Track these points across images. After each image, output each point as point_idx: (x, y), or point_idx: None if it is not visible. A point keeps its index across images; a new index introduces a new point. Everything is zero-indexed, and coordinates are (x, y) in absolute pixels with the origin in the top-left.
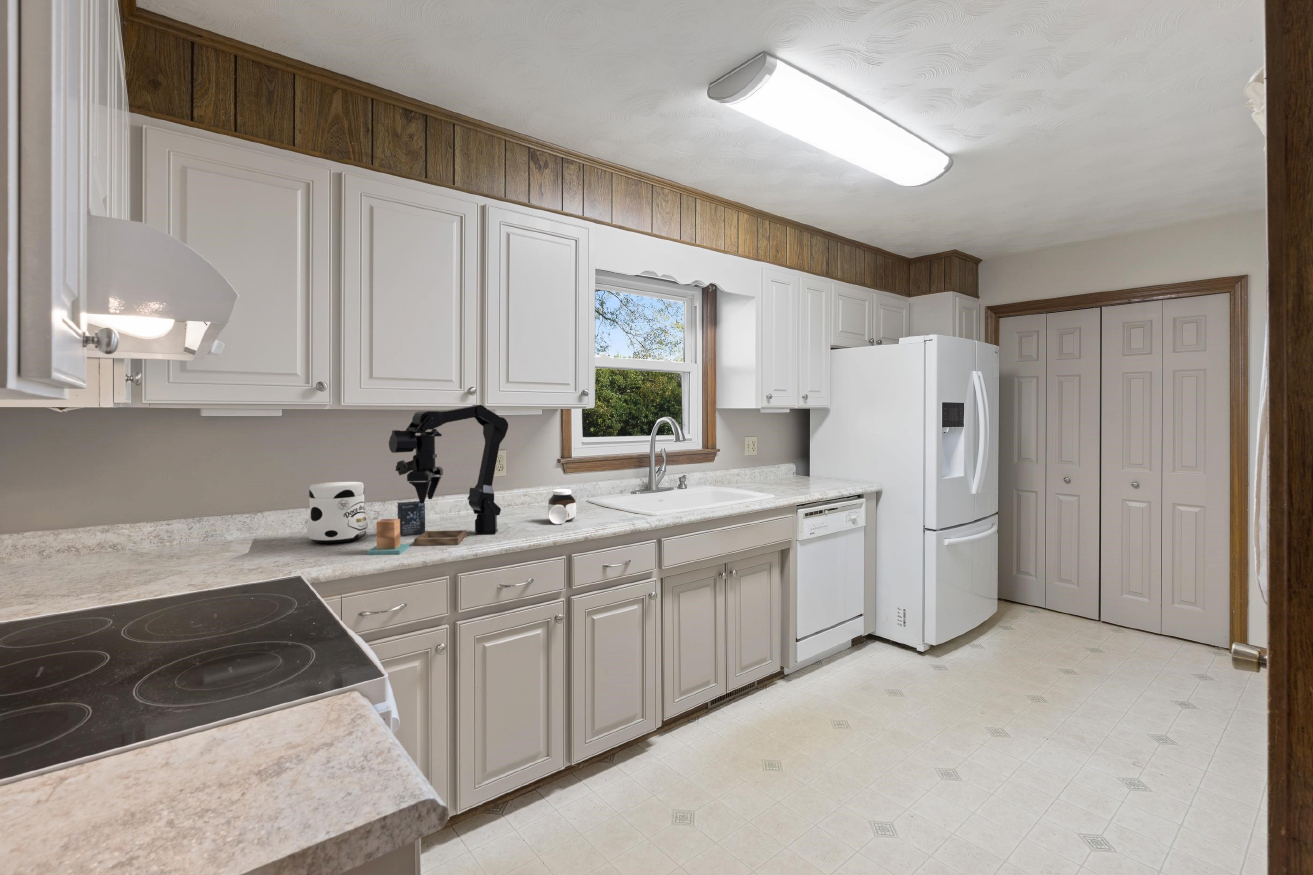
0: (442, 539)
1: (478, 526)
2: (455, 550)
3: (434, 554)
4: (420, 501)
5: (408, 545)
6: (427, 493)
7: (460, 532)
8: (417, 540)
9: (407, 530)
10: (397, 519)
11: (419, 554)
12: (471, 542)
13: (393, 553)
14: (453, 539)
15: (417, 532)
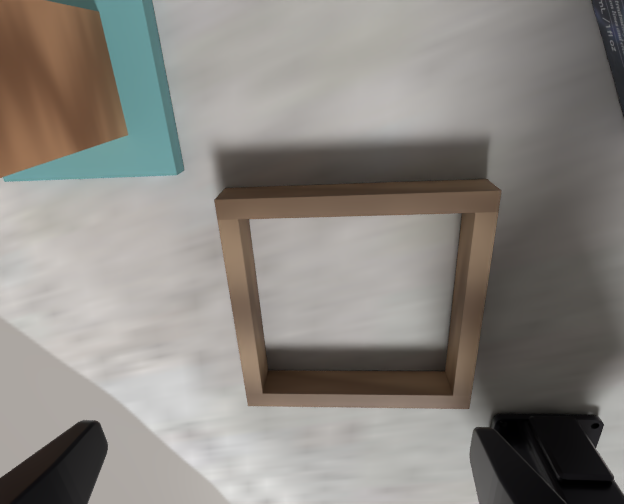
0: (238, 340)
1: (531, 453)
2: (143, 391)
3: (56, 333)
4: (61, 443)
5: (166, 174)
6: (507, 494)
7: (451, 377)
8: (219, 215)
9: (615, 5)
10: None
11: (39, 273)
12: (306, 420)
13: None
14: (246, 384)
15: (621, 82)
